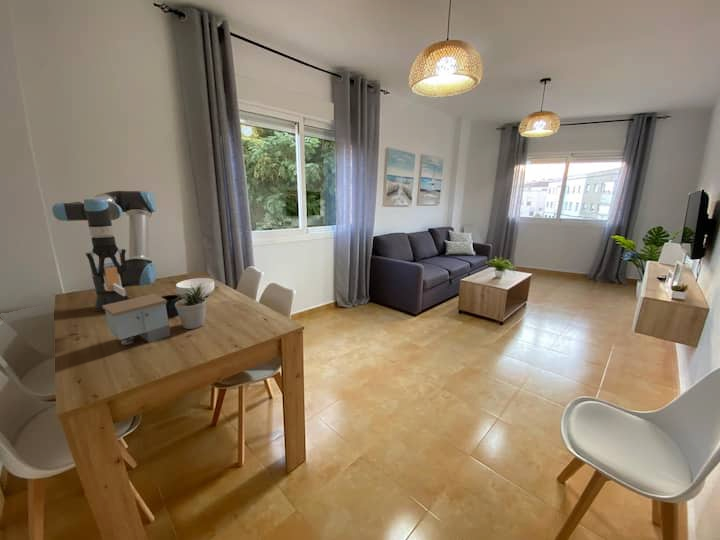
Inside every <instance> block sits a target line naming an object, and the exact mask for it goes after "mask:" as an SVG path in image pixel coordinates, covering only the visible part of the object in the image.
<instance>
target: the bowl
mask: <svg viewBox="0 0 720 540" xmlns="http://www.w3.org/2000/svg"><path fill="white" fill-rule="evenodd" d="M199 284H200V285H201V289H202V291H201V289H200V291H201V295H202V292H203V293H204V292H205V293H204V294H203V296H202V298H204V297H205V296H206V295H207V296H209V295H210V294H211V293H213V290H214V289H215V281H214V279H212V278H208V277H206V278H205V277H200V278H199V277H197V278H190V279H189V278H188V279H185V280H181V281H179V282H177V283H176V284H175V289H176V292H177V293H176V294H177V295H178V294H184V293H186V292H187V293H189V294H190V295H192V294H191V293H190V292H192V293H193V294H194V290H195V292H196V291H197V286H198V285H199ZM190 285H191V286H192V287H193V288H194V290H193V289H192V287H191V286H190ZM202 287H203V288H202ZM184 289H185V291H186V290H188V291H186V292H185V291H184ZM189 291H190V292H189ZM181 292H183V293H181ZM201 295H200V296H201ZM183 296H185V295H183ZM183 296H182V295H180V297H183ZM207 296H206V297H207ZM186 297H187V296H186ZM206 297H205V298H206ZM183 298H185V297H183ZM185 299H186V298H185Z"/></svg>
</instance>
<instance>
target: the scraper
mask: <svg viewBox="0 0 720 540" xmlns="http://www.w3.org/2000/svg"><path fill="white" fill-rule="evenodd" d="M104 275H105V276H106V279H107V283H108V288H109V291H116V292H117V293H119V294H120V295H122V296H126V293H127V292H125V291H126V289H125V287H124V288H123V287H121V286H120V282H119V277H118V272H117V267H115V266H110V267H104Z"/></svg>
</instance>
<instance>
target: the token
mask: <svg viewBox="0 0 720 540" xmlns="http://www.w3.org/2000/svg"><path fill="white" fill-rule="evenodd" d="M135 342H136V339H135V337H134V336H132V337H128V338H125V339H122V340H120V344H121V345H122V346H128V345H132V344H134V343H135Z"/></svg>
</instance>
